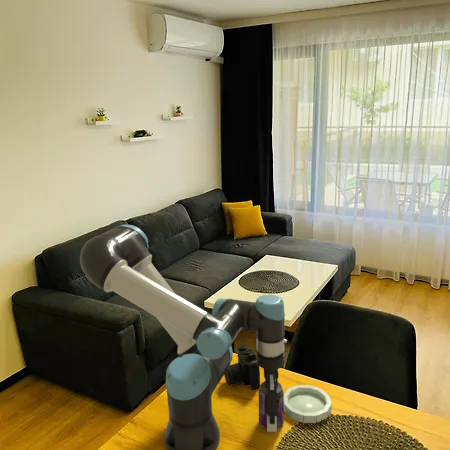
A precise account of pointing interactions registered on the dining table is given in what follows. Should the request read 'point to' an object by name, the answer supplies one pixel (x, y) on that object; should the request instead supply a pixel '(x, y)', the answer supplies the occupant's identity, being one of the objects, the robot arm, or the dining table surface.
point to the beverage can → (264, 405)
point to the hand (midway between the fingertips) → (271, 421)
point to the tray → (307, 403)
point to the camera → (244, 369)
